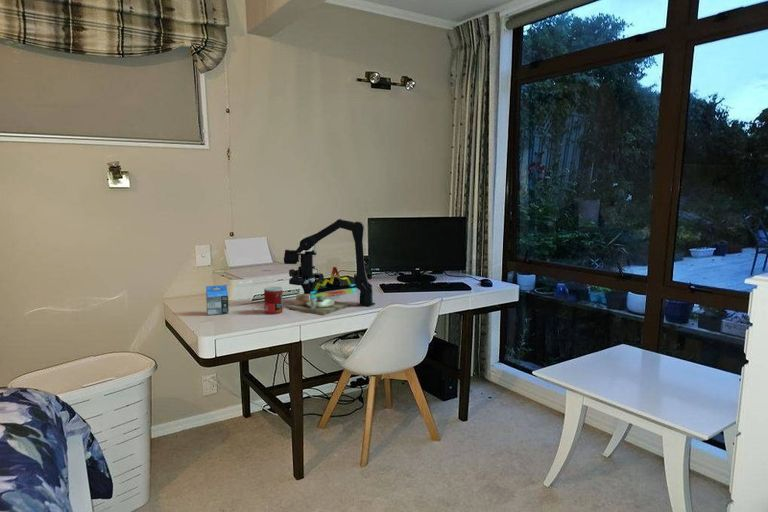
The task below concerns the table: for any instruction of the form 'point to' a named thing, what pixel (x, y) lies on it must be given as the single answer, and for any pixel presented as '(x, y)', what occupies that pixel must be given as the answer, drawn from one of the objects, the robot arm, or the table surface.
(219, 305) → the label tape cartridge
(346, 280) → the chart
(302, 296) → the flange plate
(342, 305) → the beige square tray
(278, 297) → the canned food
